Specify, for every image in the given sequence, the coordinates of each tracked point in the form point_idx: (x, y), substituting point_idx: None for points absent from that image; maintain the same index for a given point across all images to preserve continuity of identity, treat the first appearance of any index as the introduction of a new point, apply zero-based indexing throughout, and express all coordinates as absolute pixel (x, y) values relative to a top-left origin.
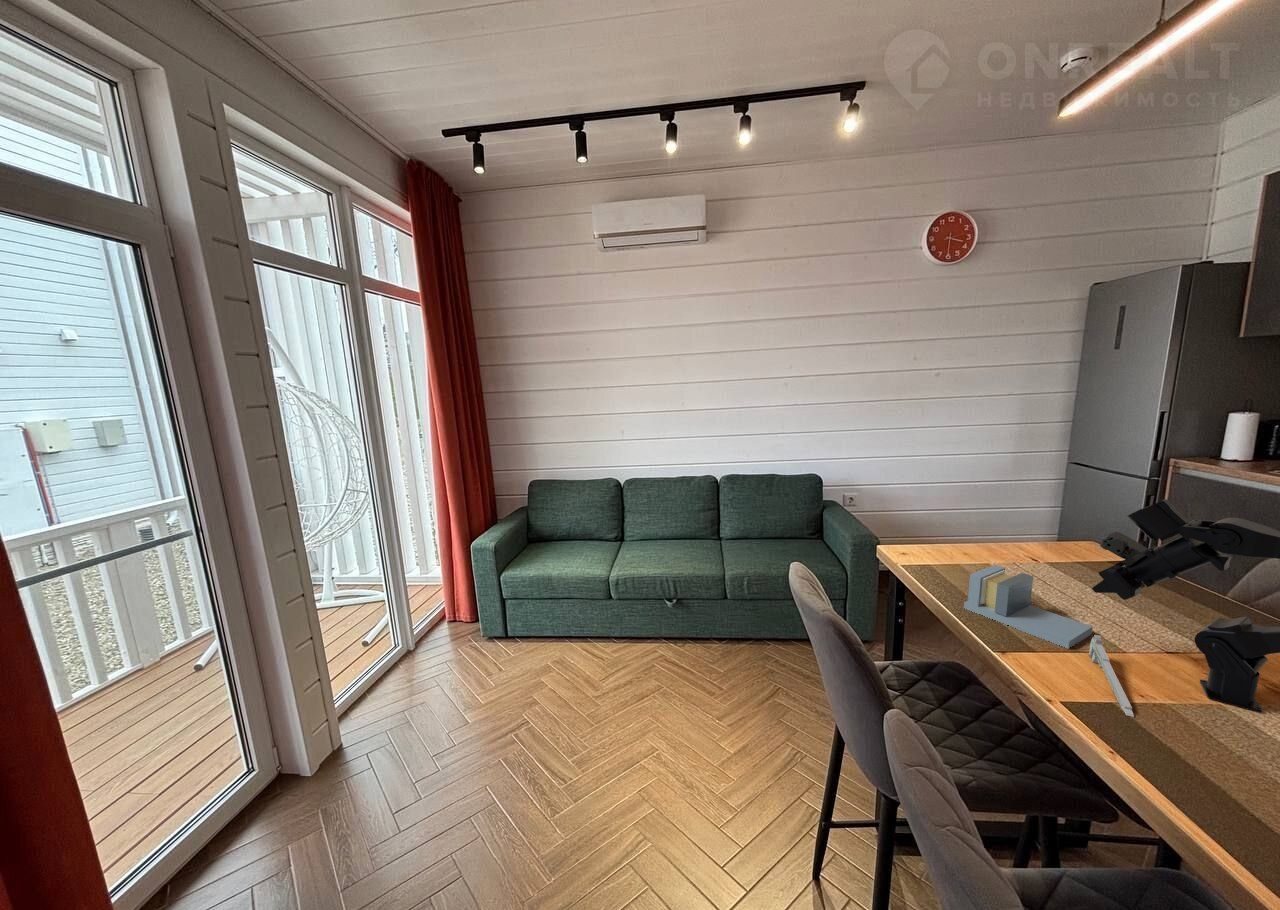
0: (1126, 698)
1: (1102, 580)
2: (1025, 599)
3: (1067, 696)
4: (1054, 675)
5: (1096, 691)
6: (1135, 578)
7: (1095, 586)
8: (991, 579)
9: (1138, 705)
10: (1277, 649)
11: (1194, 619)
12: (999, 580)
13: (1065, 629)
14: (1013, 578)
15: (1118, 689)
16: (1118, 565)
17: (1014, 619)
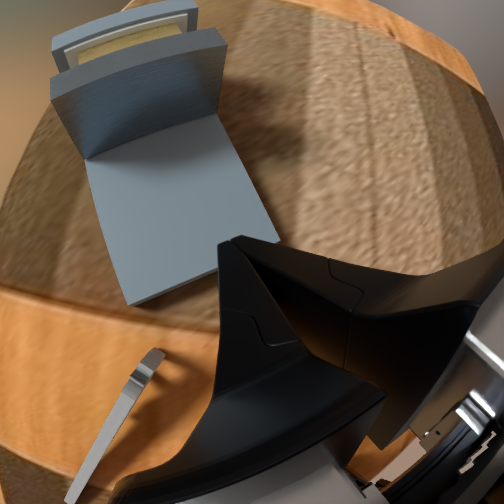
0: (77, 496)
1: (222, 311)
2: (185, 105)
3: (7, 438)
4: (21, 388)
5: (61, 450)
6: (425, 443)
7: (217, 264)
8: (97, 47)
9: (106, 495)
10: None
11: (484, 231)
12: (112, 50)
13: (180, 243)
14: (138, 48)
15: (76, 483)
16: (477, 319)
17: (94, 173)
